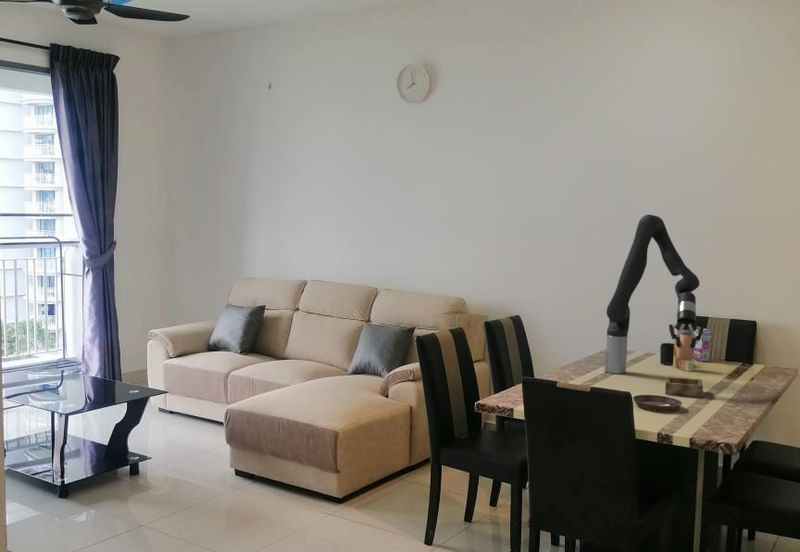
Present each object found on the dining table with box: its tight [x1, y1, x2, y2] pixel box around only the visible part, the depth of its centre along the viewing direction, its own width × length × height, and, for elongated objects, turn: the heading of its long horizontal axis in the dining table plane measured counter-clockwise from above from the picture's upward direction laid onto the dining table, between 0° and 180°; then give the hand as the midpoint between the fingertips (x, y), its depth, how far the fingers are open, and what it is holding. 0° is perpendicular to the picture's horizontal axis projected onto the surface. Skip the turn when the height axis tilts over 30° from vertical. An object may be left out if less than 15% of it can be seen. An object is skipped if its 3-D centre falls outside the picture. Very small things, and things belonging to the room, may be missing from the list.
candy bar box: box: [694, 328, 712, 363], centre depth 391 cm, size 11×5×16 cm, turn 6°
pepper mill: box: [679, 330, 692, 361], centre depth 311 cm, size 5×5×12 cm
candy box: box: [672, 339, 695, 372], centre depth 364 cm, size 9×4×15 cm, turn 33°
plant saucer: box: [632, 394, 683, 412], centre depth 287 cm, size 18×18×3 cm
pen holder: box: [659, 342, 674, 366], centre depth 376 cm, size 9×9×10 cm
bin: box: [664, 376, 704, 399], centre depth 313 cm, size 14×14×5 cm
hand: (685, 346), depth 310 cm, fingers closed on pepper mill, 4 cm apart
